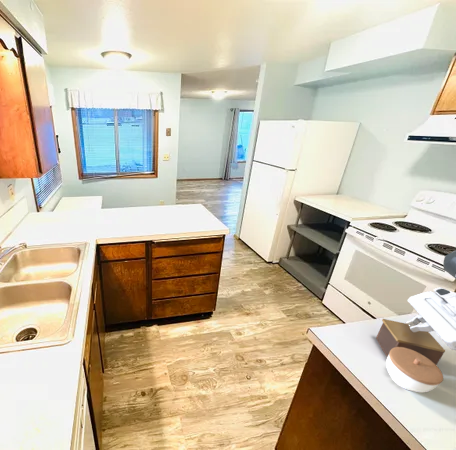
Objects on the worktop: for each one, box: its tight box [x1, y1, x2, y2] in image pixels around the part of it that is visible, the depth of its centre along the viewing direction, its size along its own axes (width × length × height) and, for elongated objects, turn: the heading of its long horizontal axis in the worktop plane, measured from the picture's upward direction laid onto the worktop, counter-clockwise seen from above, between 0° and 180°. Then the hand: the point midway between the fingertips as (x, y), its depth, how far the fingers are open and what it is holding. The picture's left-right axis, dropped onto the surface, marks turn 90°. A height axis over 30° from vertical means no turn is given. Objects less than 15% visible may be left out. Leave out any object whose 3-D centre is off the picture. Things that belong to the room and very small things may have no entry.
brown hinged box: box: [375, 322, 445, 366], centre depth 78 cm, size 11×10×8 cm
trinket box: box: [385, 347, 444, 393], centre depth 69 cm, size 11×11×9 cm
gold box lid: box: [381, 318, 446, 353], centre depth 76 cm, size 11×10×1 cm
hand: (408, 327), depth 77 cm, fingers closed
